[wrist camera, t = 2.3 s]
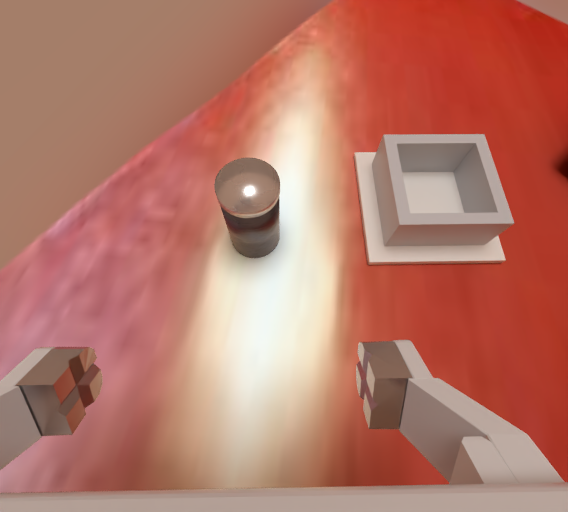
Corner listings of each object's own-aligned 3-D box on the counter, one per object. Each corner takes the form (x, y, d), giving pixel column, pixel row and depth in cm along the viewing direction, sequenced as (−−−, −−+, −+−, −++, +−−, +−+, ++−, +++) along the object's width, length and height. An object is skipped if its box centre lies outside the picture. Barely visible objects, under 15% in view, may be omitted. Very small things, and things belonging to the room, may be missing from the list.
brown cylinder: (229, 258, 29) (212, 212, 21) (231, 214, 30) (216, 157, 23) (280, 258, 29) (280, 211, 21) (279, 214, 30) (279, 157, 23)
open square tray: (367, 264, 29) (383, 242, 24) (353, 156, 33) (364, 121, 29) (501, 262, 29) (539, 240, 25) (468, 155, 33) (496, 121, 29)
